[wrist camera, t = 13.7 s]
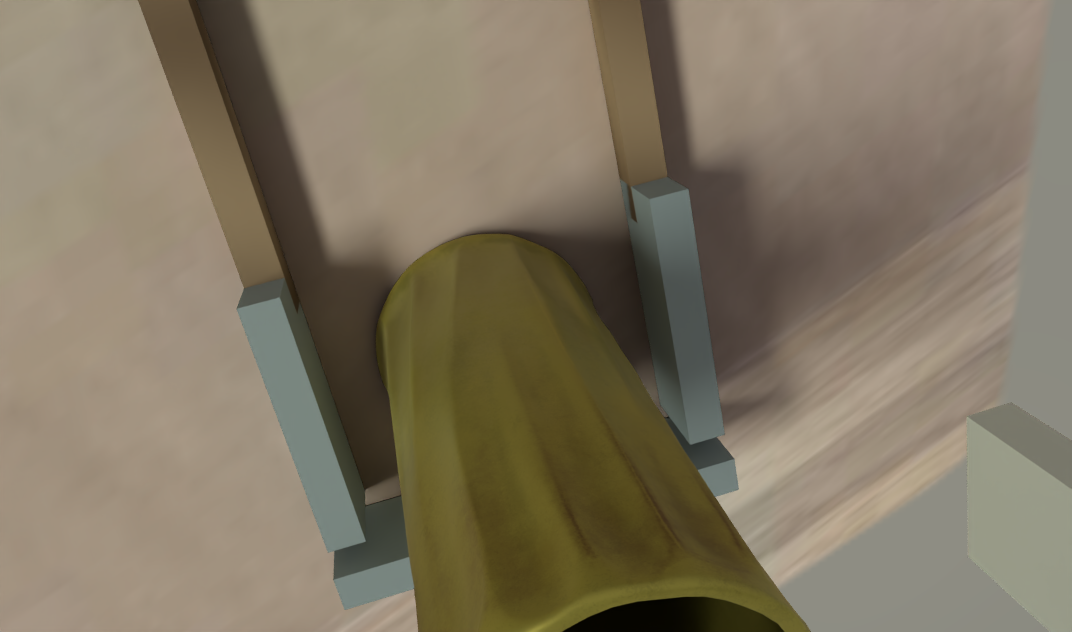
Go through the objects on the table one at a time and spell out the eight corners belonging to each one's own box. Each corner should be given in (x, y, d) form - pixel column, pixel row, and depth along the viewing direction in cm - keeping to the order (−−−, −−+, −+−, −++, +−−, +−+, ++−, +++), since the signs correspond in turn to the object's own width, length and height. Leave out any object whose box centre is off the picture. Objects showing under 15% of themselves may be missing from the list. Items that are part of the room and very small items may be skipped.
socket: (248, 276, 22) (233, 316, 19) (655, 169, 23) (695, 193, 20) (345, 542, 25) (344, 609, 22) (698, 437, 26) (738, 489, 24)
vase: (601, 230, 23) (911, 528, 10) (586, 431, 26) (829, 892, 12) (373, 231, 22) (395, 570, 9) (377, 442, 24) (401, 964, 11)
